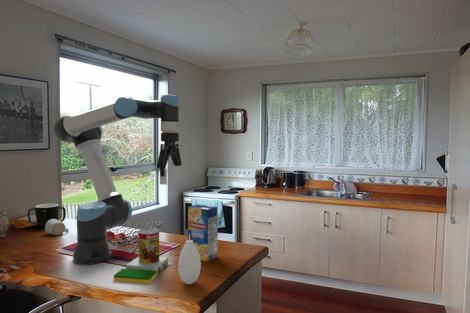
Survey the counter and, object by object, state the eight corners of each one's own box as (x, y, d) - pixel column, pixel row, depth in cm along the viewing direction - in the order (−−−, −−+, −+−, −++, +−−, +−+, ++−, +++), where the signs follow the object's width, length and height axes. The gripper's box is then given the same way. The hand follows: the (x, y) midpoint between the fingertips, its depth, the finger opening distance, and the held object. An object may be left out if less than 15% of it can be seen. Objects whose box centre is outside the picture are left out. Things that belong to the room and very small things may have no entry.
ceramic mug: (52, 237, 182) (52, 222, 182) (44, 234, 187) (44, 220, 187) (72, 233, 191) (72, 218, 191) (64, 230, 196) (64, 216, 195)
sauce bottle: (174, 285, 123) (174, 235, 123) (185, 277, 131) (185, 229, 130) (194, 289, 121) (194, 237, 120) (204, 280, 128) (204, 231, 127)
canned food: (152, 265, 134) (151, 234, 134) (134, 263, 137) (134, 232, 136) (163, 259, 142) (162, 229, 141) (146, 256, 144) (146, 227, 144)
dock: (126, 272, 135) (126, 265, 135) (141, 262, 147) (140, 254, 147) (155, 275, 133) (155, 267, 132) (168, 264, 144) (168, 257, 144)
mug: (54, 221, 217) (53, 201, 216) (68, 225, 207) (68, 204, 207) (25, 226, 203) (25, 205, 203) (39, 230, 194) (39, 209, 193)
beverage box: (207, 261, 148) (207, 209, 146) (187, 256, 154) (187, 206, 153) (217, 257, 153) (217, 207, 152) (198, 252, 159) (198, 204, 158)
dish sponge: (149, 285, 125) (149, 278, 125) (113, 282, 127) (112, 275, 127) (157, 277, 132) (157, 270, 132) (122, 274, 134) (122, 268, 134)
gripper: (166, 131, 136) (166, 186, 137) (188, 132, 160) (188, 179, 161) (148, 131, 137) (148, 185, 138) (173, 132, 162) (173, 178, 163)
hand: (170, 182), depth 150 cm, fingers open, 13 cm apart
